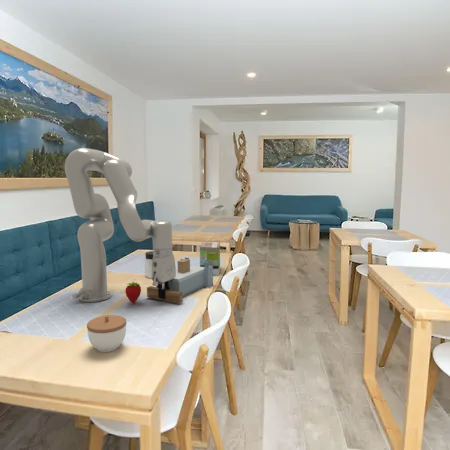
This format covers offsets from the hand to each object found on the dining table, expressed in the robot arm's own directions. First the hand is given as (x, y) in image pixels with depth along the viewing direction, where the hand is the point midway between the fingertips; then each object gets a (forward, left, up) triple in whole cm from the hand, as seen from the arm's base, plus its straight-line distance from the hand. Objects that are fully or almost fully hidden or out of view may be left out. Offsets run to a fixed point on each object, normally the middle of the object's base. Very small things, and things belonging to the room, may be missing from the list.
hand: (164, 297), depth 143 cm
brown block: (0, 0, -1) cm, 1 cm away
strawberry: (-9, +8, -2) cm, 12 cm away
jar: (+26, +27, -2) cm, 38 cm away
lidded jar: (-40, -11, -2) cm, 41 cm away
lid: (+15, +1, +5) cm, 16 cm away
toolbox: (+15, +1, -2) cm, 16 cm away
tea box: (+47, +7, -2) cm, 48 cm away
